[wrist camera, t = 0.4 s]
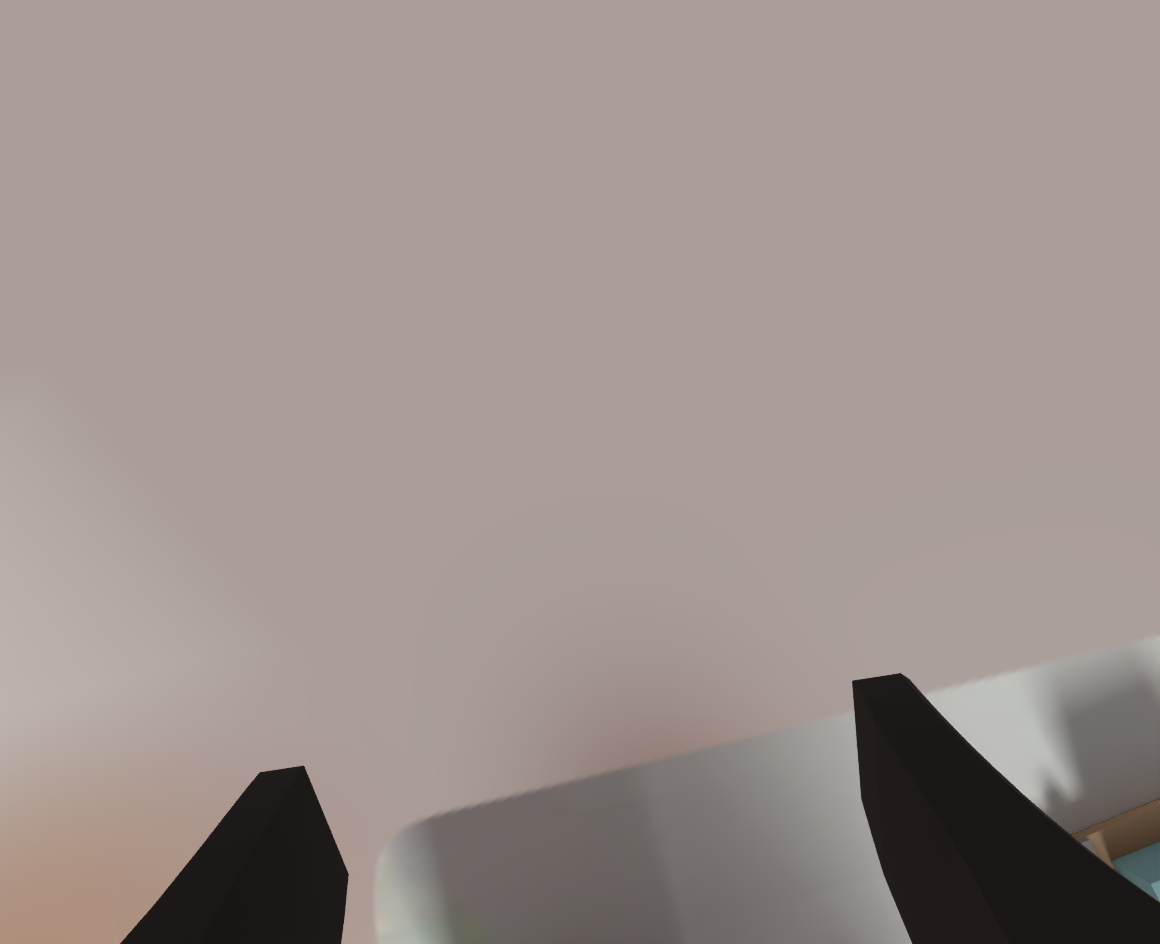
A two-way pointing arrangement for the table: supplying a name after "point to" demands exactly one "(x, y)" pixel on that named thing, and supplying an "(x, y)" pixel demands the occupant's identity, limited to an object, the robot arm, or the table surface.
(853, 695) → the robot arm
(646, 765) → the table surface
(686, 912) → the table surface
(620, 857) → the table surface
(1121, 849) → the count board
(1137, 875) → the teal cube
